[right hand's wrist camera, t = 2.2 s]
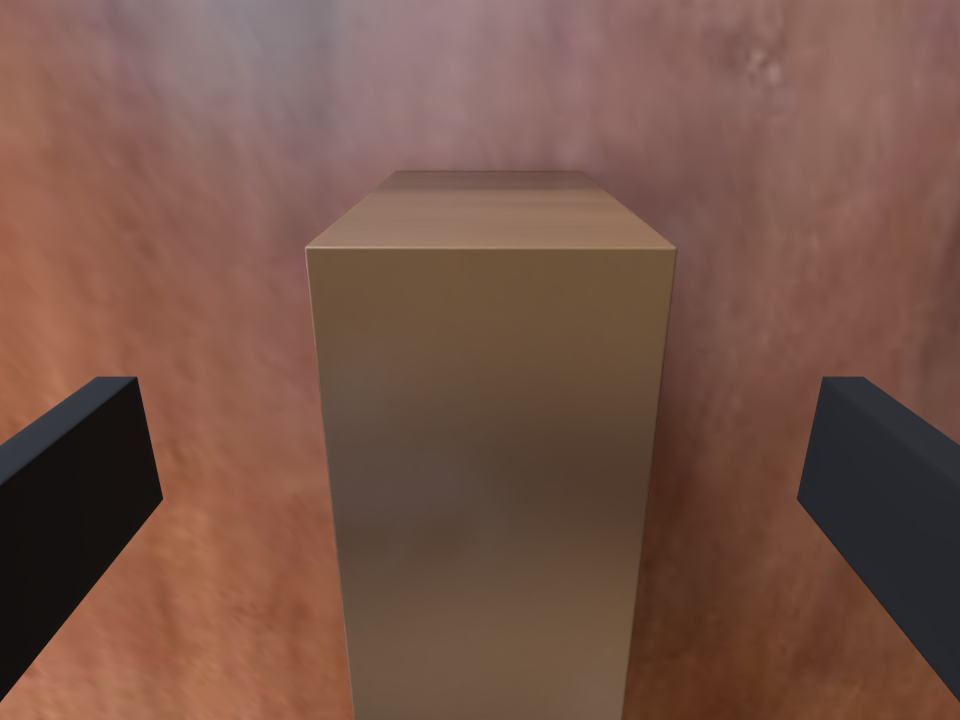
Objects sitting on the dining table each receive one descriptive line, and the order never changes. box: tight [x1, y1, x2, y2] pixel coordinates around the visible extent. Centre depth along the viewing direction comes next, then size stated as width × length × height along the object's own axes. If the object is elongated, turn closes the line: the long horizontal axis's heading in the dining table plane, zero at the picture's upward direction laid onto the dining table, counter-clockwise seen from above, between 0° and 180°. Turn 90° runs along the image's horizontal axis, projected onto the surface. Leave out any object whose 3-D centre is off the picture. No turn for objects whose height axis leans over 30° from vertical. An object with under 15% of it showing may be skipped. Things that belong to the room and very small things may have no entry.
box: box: [305, 171, 677, 720], centre depth 21 cm, size 25×6×12 cm, turn 0°
